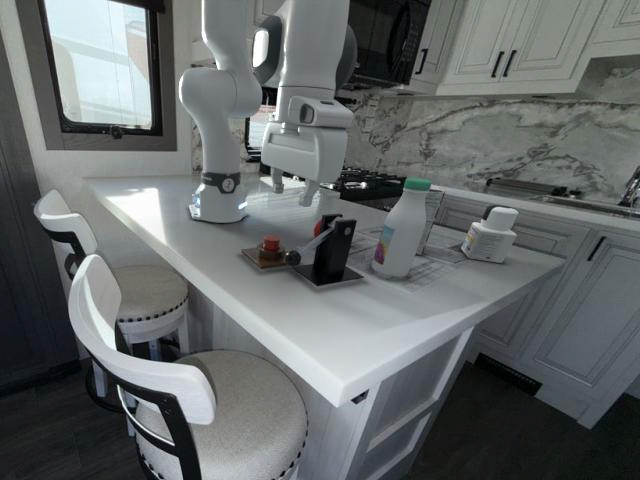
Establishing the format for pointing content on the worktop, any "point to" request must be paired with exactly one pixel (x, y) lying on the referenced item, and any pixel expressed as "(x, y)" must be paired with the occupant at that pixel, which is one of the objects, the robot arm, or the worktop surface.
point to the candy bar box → (430, 213)
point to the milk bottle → (402, 230)
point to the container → (491, 235)
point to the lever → (309, 245)
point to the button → (271, 243)
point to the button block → (266, 256)
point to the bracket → (332, 254)
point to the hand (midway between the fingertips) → (290, 199)
